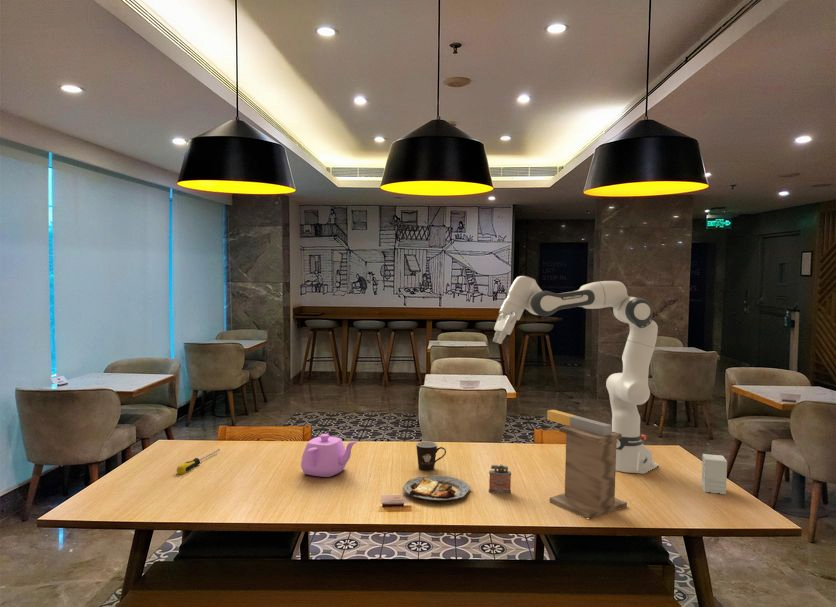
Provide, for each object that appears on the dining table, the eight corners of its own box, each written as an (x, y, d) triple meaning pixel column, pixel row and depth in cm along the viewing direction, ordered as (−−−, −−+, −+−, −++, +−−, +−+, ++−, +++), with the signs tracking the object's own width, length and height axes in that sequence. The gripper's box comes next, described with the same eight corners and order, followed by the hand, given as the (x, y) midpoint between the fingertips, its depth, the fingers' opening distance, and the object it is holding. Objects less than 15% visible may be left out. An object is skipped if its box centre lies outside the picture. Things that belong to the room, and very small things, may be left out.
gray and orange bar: (553, 418, 212) (553, 409, 211) (611, 435, 190) (611, 425, 190) (547, 419, 210) (547, 410, 210) (604, 436, 188) (604, 426, 188)
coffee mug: (412, 470, 229) (413, 445, 228) (420, 463, 237) (420, 440, 236) (439, 474, 224) (439, 449, 224) (446, 467, 232) (447, 443, 232)
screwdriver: (183, 466, 219) (223, 445, 248) (175, 466, 219) (216, 445, 249) (183, 475, 219) (223, 453, 248) (175, 474, 219) (216, 452, 249)
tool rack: (587, 490, 209) (589, 421, 208) (626, 506, 194) (629, 432, 193) (549, 501, 198) (551, 428, 197) (587, 519, 184) (590, 440, 183)
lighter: (510, 490, 208) (511, 464, 207) (511, 494, 204) (511, 467, 204) (488, 489, 208) (489, 463, 208) (488, 493, 205) (489, 466, 205)
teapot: (288, 479, 216) (289, 440, 216) (317, 462, 236) (317, 427, 235) (341, 487, 208) (341, 447, 208) (366, 470, 228) (366, 433, 227)
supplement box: (722, 488, 214) (723, 455, 213) (726, 495, 207) (727, 461, 206) (701, 485, 216) (702, 453, 216) (704, 492, 209) (705, 458, 209)
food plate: (457, 509, 190) (457, 499, 190) (393, 499, 198) (394, 489, 198) (475, 486, 213) (476, 477, 213) (418, 478, 221) (418, 469, 221)
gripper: (523, 315, 220) (508, 347, 219) (512, 315, 240) (499, 344, 240) (509, 308, 219) (494, 340, 219) (499, 308, 240) (485, 338, 239)
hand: (496, 342), depth 230 cm, fingers open, 8 cm apart
